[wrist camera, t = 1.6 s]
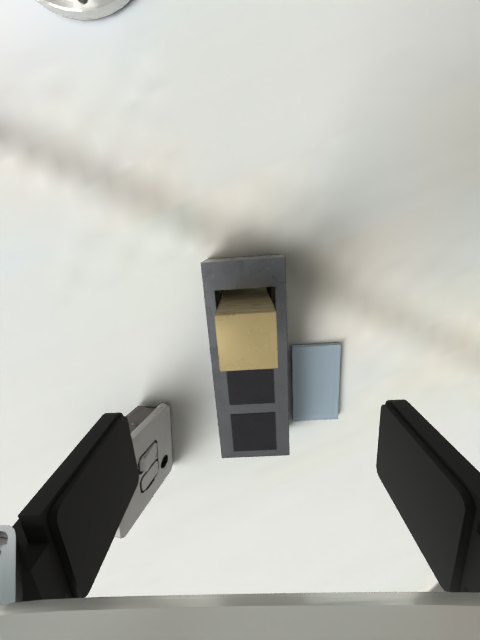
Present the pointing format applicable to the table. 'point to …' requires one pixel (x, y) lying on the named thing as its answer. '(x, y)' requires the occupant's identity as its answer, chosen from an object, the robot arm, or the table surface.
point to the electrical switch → (148, 458)
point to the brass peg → (246, 330)
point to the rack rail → (250, 385)
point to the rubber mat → (315, 381)
